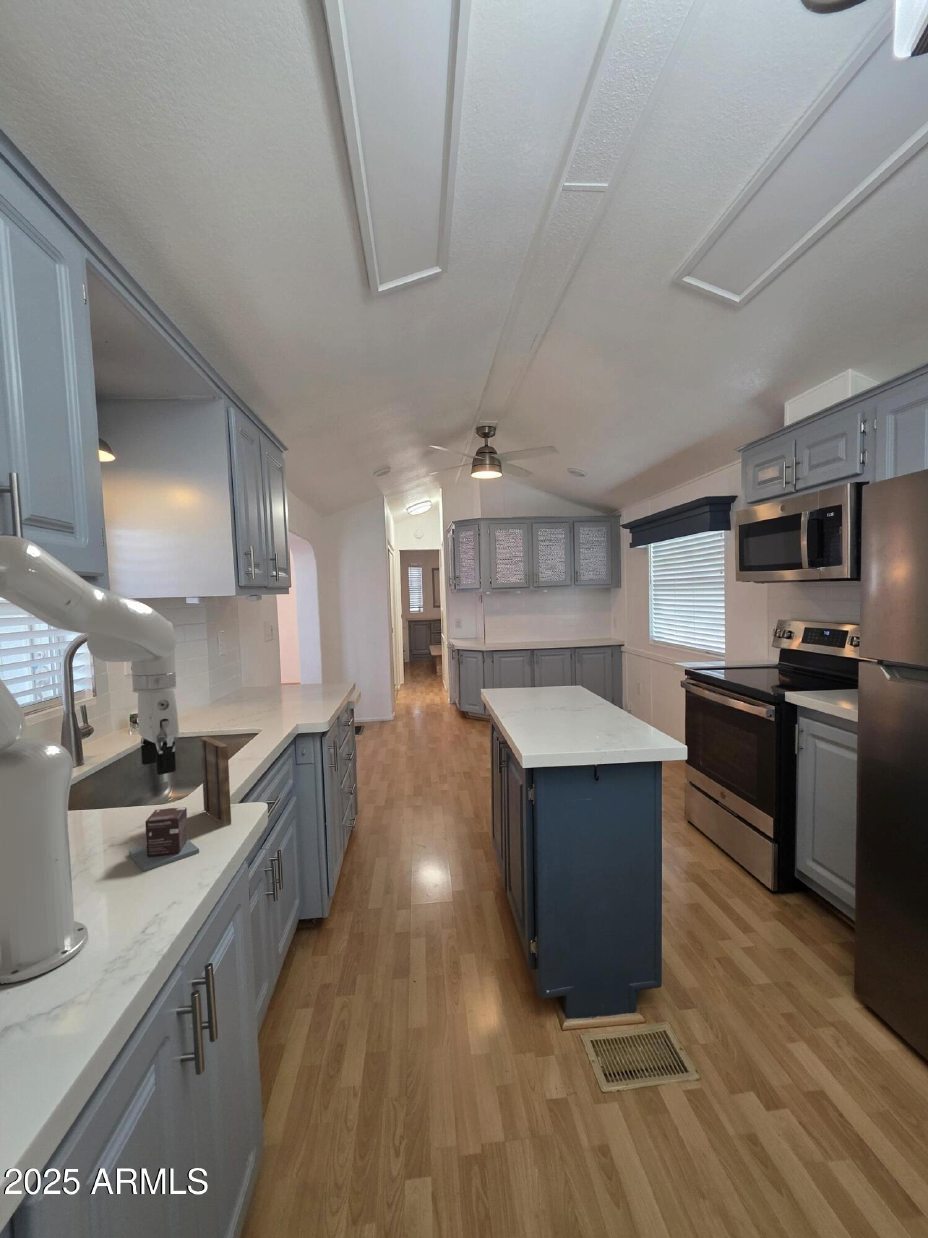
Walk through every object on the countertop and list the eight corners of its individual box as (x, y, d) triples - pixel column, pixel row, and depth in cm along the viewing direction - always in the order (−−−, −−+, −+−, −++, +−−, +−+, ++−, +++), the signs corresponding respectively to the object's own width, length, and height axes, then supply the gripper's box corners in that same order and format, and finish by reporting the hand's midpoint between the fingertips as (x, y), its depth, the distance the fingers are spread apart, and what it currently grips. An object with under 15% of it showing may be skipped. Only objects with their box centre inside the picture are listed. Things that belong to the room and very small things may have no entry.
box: (146, 858, 106) (144, 821, 106) (156, 844, 112) (154, 809, 112) (179, 854, 108) (178, 818, 107) (188, 840, 113) (186, 806, 113)
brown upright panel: (175, 841, 115) (171, 757, 114) (157, 825, 123) (153, 747, 122) (231, 824, 123) (227, 745, 122) (211, 810, 132) (207, 736, 131)
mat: (143, 871, 103) (143, 867, 103) (128, 854, 110) (128, 850, 110) (199, 852, 110) (199, 849, 110) (182, 837, 117) (181, 834, 117)
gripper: (190, 684, 104) (193, 772, 105) (161, 676, 117) (165, 755, 117) (146, 689, 99) (150, 782, 100) (121, 681, 111) (125, 763, 112)
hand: (158, 767), depth 109 cm, fingers open, 9 cm apart
